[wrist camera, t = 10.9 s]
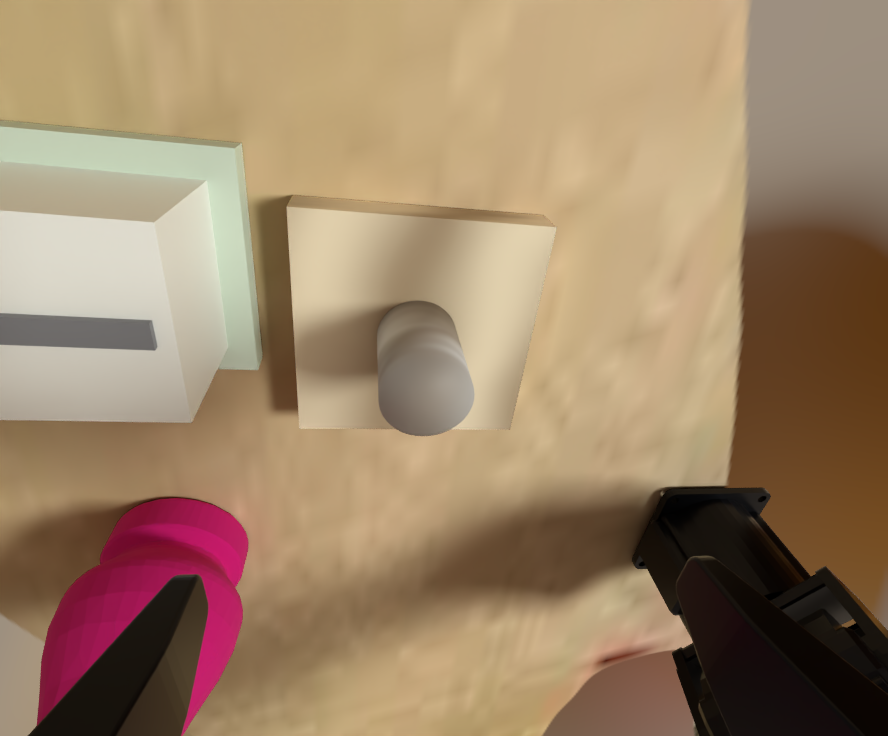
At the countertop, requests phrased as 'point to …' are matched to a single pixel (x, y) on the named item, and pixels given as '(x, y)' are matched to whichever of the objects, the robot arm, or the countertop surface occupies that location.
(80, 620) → the pepper mill
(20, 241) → the white cabinet cube
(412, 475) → the countertop surface
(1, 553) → the countertop surface
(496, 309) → the post base
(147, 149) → the pad
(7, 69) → the countertop surface
